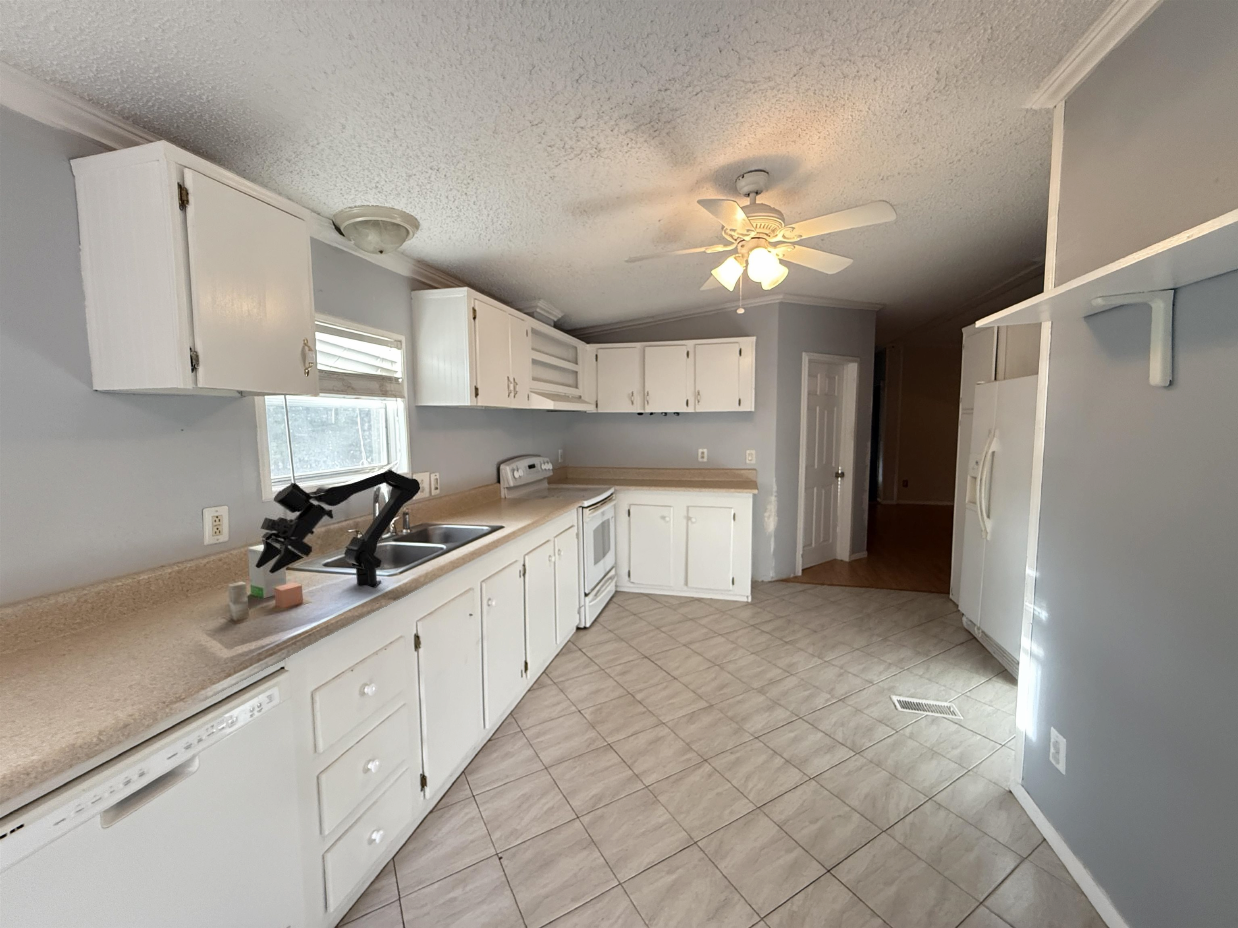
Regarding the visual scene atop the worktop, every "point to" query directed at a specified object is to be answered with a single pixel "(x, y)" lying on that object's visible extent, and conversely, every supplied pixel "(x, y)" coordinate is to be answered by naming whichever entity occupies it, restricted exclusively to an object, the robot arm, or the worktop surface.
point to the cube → (288, 595)
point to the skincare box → (263, 574)
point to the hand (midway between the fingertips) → (263, 569)
